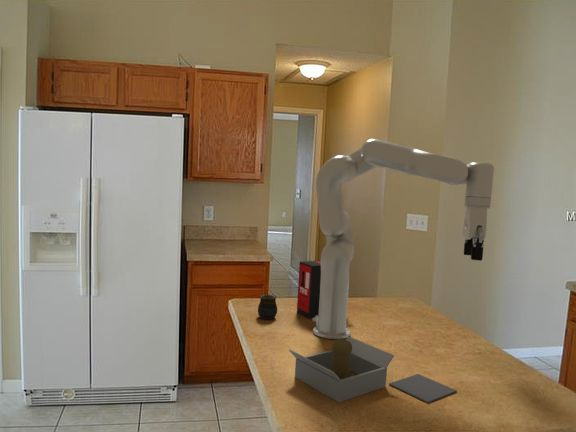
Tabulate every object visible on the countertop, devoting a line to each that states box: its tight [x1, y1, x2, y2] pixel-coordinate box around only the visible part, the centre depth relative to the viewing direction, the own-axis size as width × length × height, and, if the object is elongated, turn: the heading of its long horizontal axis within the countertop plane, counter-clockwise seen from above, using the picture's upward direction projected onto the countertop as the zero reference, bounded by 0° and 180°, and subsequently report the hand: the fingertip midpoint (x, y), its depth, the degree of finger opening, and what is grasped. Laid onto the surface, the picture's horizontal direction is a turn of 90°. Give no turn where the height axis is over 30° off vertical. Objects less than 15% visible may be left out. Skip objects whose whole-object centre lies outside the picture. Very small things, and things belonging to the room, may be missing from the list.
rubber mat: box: [388, 373, 458, 404], centre depth 125 cm, size 12×12×1 cm
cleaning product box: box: [296, 260, 321, 320], centre depth 188 cm, size 16×9×20 cm, turn 120°
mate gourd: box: [257, 293, 278, 320], centre depth 179 cm, size 7×8×10 cm
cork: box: [329, 338, 352, 380], centre depth 126 cm, size 6×6×11 cm
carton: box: [288, 336, 395, 403], centre depth 126 cm, size 17×22×8 cm
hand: (472, 257), depth 151 cm, fingers open, 9 cm apart
